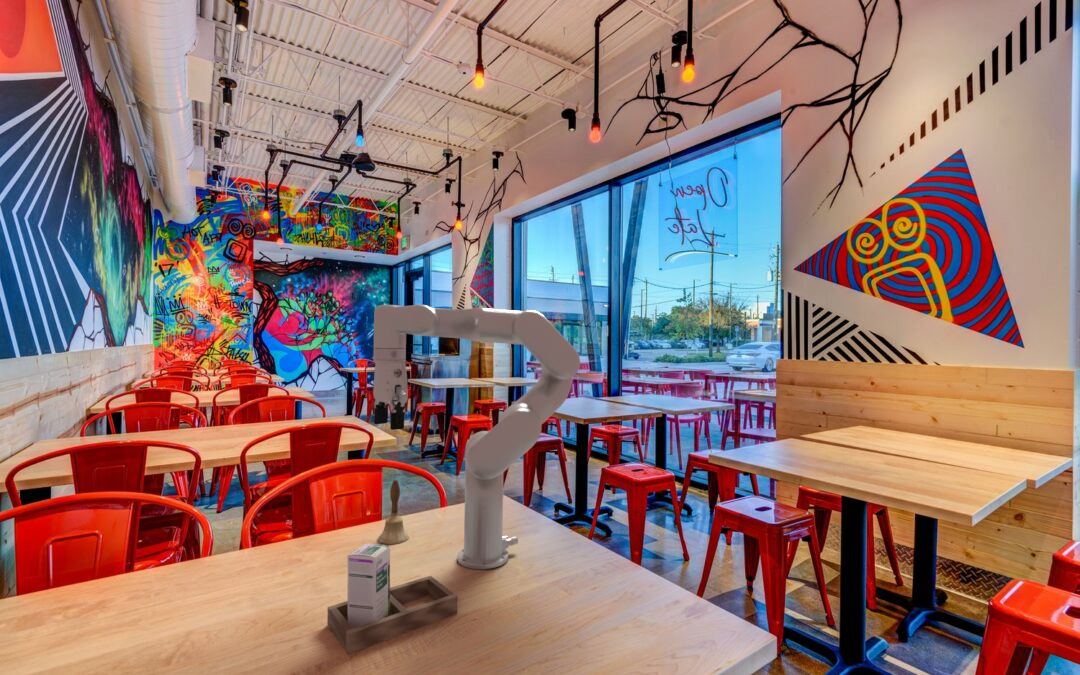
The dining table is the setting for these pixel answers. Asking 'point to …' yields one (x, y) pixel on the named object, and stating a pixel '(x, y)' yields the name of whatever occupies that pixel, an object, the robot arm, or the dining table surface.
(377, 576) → the syrup box
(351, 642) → the rack
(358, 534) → the dining table surface
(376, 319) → the robot arm
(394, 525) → the hand bell
